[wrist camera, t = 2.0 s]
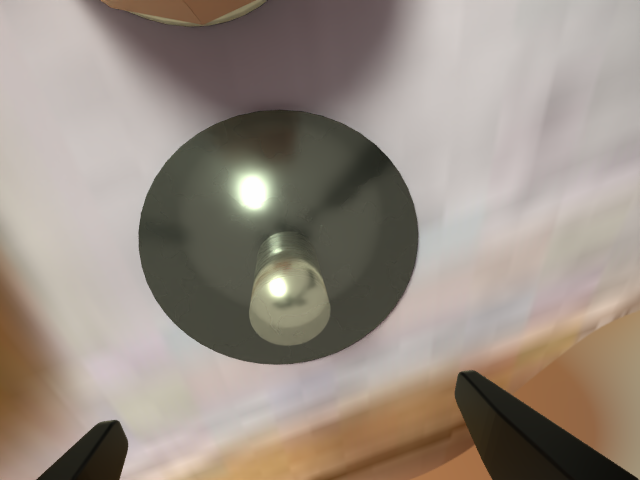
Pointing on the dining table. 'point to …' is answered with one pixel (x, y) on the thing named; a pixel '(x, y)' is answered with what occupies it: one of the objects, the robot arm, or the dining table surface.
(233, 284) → the lid
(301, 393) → the dining table surface
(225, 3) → the bowl
